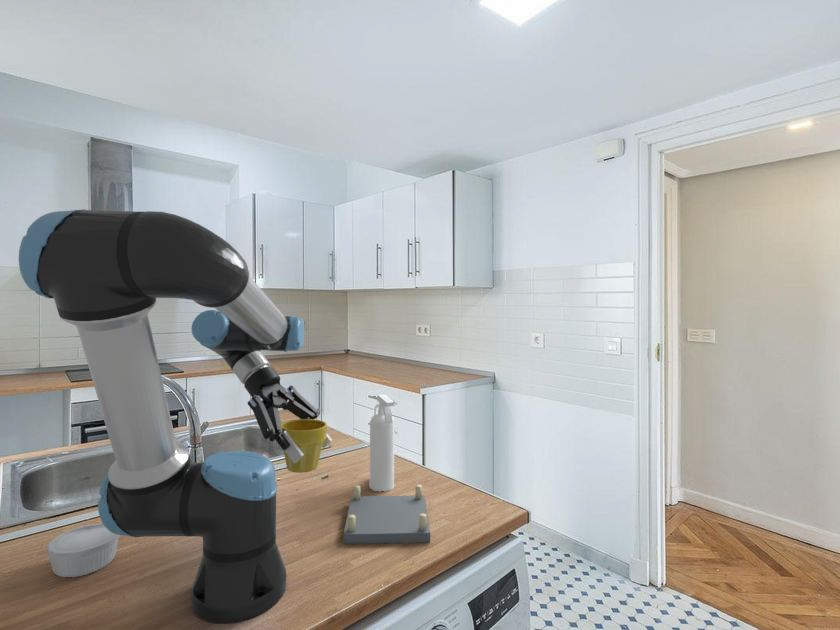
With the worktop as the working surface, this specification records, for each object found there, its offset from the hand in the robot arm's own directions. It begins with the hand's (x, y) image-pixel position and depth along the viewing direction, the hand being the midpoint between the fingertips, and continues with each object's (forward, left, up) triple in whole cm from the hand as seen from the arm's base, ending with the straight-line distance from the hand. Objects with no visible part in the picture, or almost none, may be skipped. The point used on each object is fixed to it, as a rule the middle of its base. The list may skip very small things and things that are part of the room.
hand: (314, 451), depth 101 cm
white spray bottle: (+21, -14, -17) cm, 31 cm away
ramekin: (-13, +41, -17) cm, 46 cm away
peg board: (+1, -16, -17) cm, 24 cm away
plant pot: (+1, +3, -4) cm, 5 cm away
